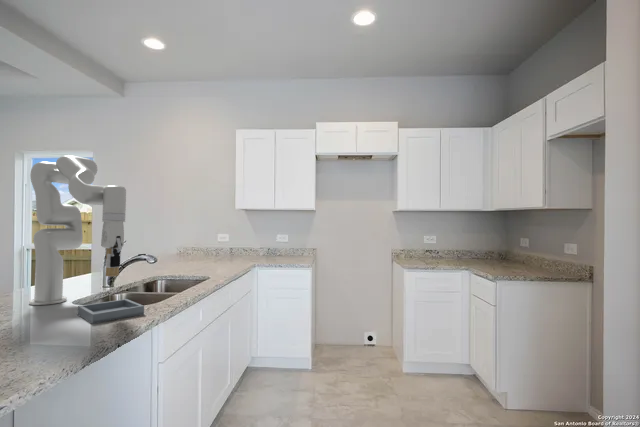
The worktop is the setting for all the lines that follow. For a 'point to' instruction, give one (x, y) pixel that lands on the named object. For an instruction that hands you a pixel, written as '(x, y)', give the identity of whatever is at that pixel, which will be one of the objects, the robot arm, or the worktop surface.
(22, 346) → the worktop surface
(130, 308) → the tray
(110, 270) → the sprinkles bottle
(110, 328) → the worktop surface
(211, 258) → the worktop surface
